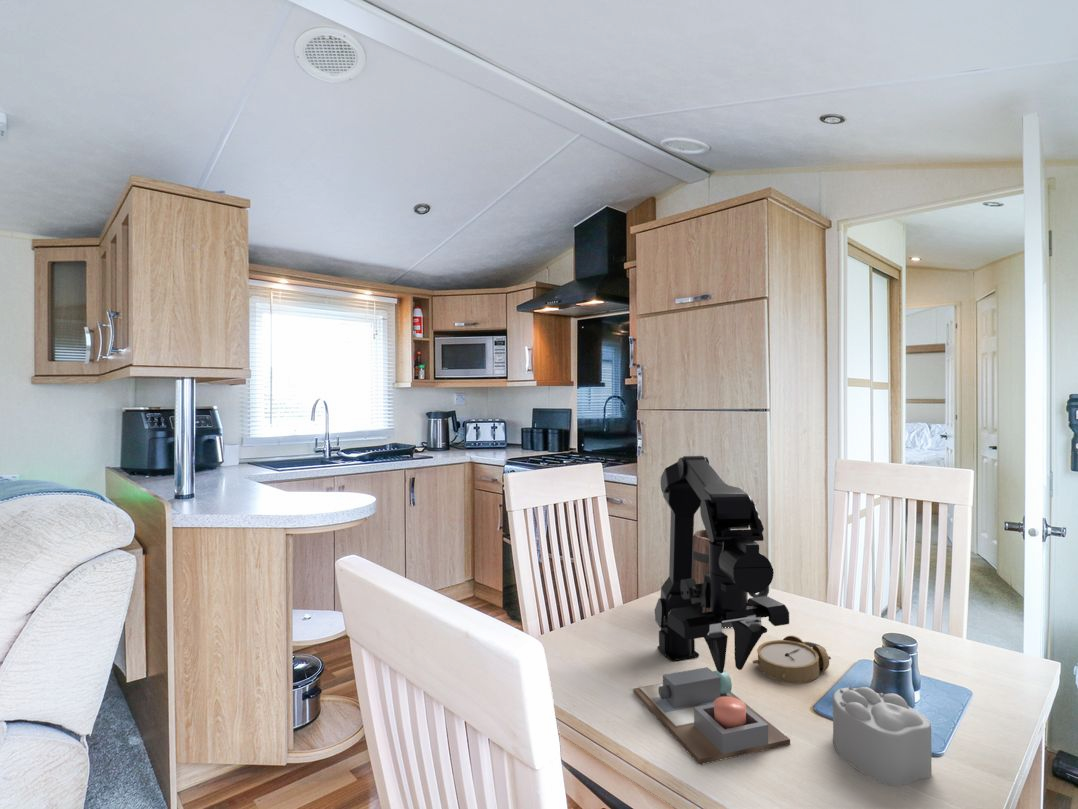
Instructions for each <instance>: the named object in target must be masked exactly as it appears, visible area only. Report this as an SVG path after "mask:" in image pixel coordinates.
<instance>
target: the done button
mask: <svg viewBox="0 0 1078 809" xmlns="http://www.w3.org/2000/svg"><path fill="white" fill-rule="evenodd" d="M739 699H740V698H739ZM739 699H737V698H733V697H719V698H717V699H715V700H714V720H715V721H716V722H717V723H718V724H719V725H720V726H722V727H723V728H724V729H729V728H734V727H739V726H743V725H746V705H745V703H746V702H745V701H743V700H742V699H741V700H742V701H743V702H742V701H741V700H739Z"/></svg>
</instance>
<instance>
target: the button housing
mask: <svg viewBox="0 0 1078 809" xmlns="http://www.w3.org/2000/svg"><path fill="white" fill-rule="evenodd" d="M694 726H695V727H696V728H697V729H698V730H699V731H700V732H701V733H702V734H703V735H704V736H705V737H706V738H707V739H708V740H709V741H710V742H711V743H712V744H713V745H714V746H715V747H716V748H717V749H718V750H719V751H720V752H721V753H722V754H726V753H730V752H735V751H739V750H744V749H748V748H753V747H757V746H762V745H766V744H768V724H767V723H765V722H764V721H763V720H762V719H760V718H759V717H758V716H757V715H756V714H754V713H753V712H752V711H751V710H749V709H748V708H747V707H746V725H743V726H739V727H734V728H729V729H724V728H723V727H722V726H720V725H719V724H718V723H717V722H716V721H715V720H714V703H713V704H708V705H703V706H697V707H694Z"/></svg>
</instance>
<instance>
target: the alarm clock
mask: <svg viewBox="0 0 1078 809" xmlns="http://www.w3.org/2000/svg"><path fill="white" fill-rule="evenodd" d="M756 652H757V659H755V660H752V664H757V665H758V668H759V670H760V671H761V672H762V673H764V674H765V675H766V676H768V677H769V678H773V679H775V680H778V681H782V682H785V683H794V684H803V683H804V684H805V683H806V684H807V683H808V682H811V681H814V680H816V679H817V678H818V677H819V675H820V674H821V673H820V672H824V671H826V670H827V669H828V668H829V666H830V661H831V659H832V658H831V656H829V655H828V654H829V653H828V652H827V649H826V648H825V647H824V646H822V645H821V644H818V643H815V642H811V641H803V640H802V639H801V638H800V637H799V636H796V635H791V634H790V635H787V636H785V637H784V638H783V639H778V640H777V639H776V640H769V641H766V642H763V643H761V644H760V645H759V646H758V648H757V649H756ZM820 669H822V670H820Z"/></svg>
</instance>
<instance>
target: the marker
mask: <svg viewBox="0 0 1078 809" xmlns="http://www.w3.org/2000/svg"><path fill="white" fill-rule="evenodd" d="M662 683H663V686H660V687H659V689H658V691H659V695H660V697H661V699H665V700H666V701H667V702H668V703H669V704H670V705H671V706H672V707H673V708H674V709H676V708H681V707H686V706H692V705H697V704H702V703H707V702H713V701H714V700H715V699H717V698H719V697H720V694H725V693H730V692H732V687H733V682H732V680H731V677H730V674H729V673H728V672H727V671H726V670H725V669H724V670H723V673H719V672H718V671H717V670H711V669H710V668H709V667H702V668H701V667H700V668H696V669H690V670H684V671H678V672H672V673H671V672H670V673H665V674H662Z"/></svg>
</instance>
